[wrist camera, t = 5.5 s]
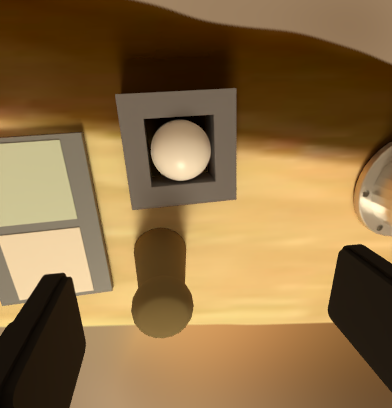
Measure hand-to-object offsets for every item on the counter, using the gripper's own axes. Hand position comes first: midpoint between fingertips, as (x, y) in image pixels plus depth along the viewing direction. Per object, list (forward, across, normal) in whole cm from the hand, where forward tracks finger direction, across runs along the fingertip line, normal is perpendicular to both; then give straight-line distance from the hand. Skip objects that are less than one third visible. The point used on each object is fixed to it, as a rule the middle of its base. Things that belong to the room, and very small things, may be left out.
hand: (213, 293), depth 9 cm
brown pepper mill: (+21, +2, +10) cm, 23 cm away
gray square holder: (+20, -1, -2) cm, 20 cm away
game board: (+20, +14, +5) cm, 25 cm away
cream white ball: (+20, -1, -2) cm, 20 cm away
